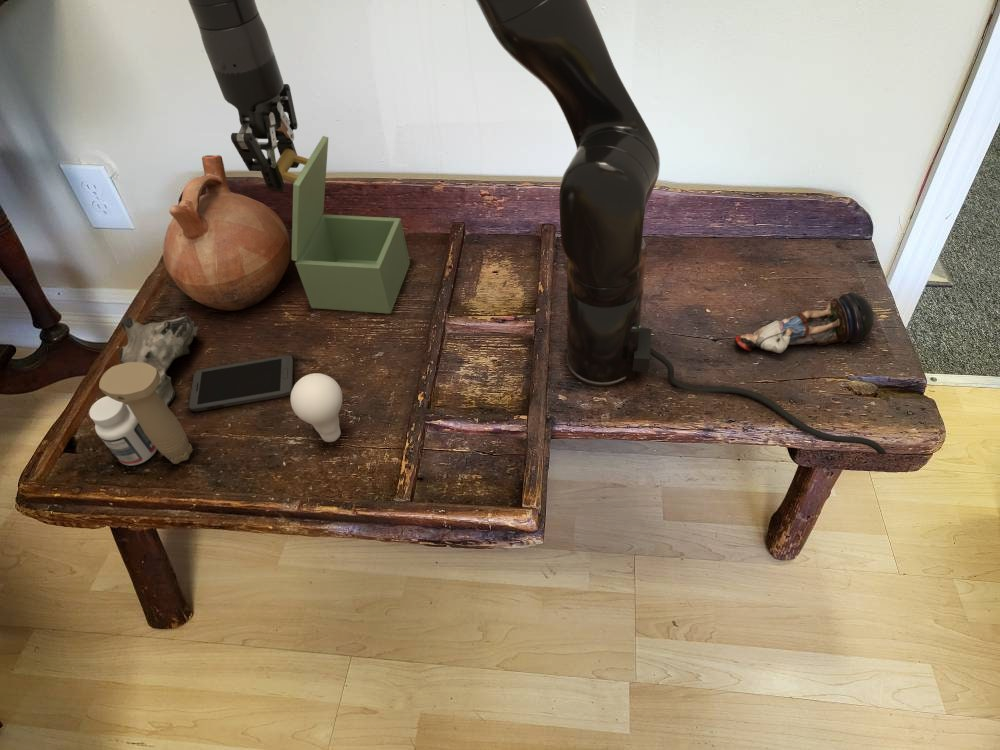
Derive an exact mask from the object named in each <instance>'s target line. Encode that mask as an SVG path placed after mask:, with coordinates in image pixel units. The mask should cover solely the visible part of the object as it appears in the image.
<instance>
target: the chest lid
mask: <svg viewBox="0 0 1000 750" xmlns="http://www.w3.org/2000/svg"><path fill="white" fill-rule="evenodd" d="M328 149H329V136H325V135H323V136H322V137H321V138H320V139H319V142H318V143H317V145H316V146H315V148H314V149H313V151H312V153H311V154H310V156H309V157H308V158H307V157H304V156H300V155H298V154H297V155H296V153H297V152H296V153H295V152H294V151H293V150H291V149H285V150H284V152H283V153H282V155H281V156H280V155H279V158H278V159H277V160H276V165H278V168H279V171H280V174H281V176H282V179H283V180H287V181H291V182H293V185H292V186H293V187H292V224H291V225H292V227H291V261H294V262H296V261H297V260H298V258H299V256H300V255H301V253H302V251H303V249H304V247H305V245H306V244H307V242H308V240H309V238H310V236H311V234H312V233H313V231H314V229H315V227H316V225H317V223H318V222H319V220H320V218H321V216H322V214H323V215H324V210H325V209H324V208H325V195H326V192H325V191H326V181H327V179H326V178H327V166H328V164H327V163H328V151H329V150H328ZM293 162H297V163H300V164H299V165H303V168H302V169H301V170H300V173H299V174H295V173H292V172H289V170H290V169H291V168H290V167H291V165H292V164H293Z"/></svg>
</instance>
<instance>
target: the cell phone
mask: <svg viewBox="0 0 1000 750" xmlns="http://www.w3.org/2000/svg"><path fill="white" fill-rule="evenodd" d="M293 387H294V357H293V356H292V355H291V354H284V355H277V356H272V357H271V356H270V357H265V358H260V359H252V360H247V361H242V362H241V361H240V362H235V363H230V364H223V365H218V366H212V367H206V368H201V369H200V368H199V369H197V370H196V371H195V372H194V373H193V377H192V382H191V389H190V396H189V402H188V407H189V410H190V411H191V412H196V413H197V412H203V411H208V410H214V409H221V408H225V407H232V406H237V405H243V404H249V403H255V402H261V401H267V400H273V399H278V398H285V397H288V396H289V397H290V396H291V392H292V389H293Z"/></svg>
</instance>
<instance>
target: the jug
mask: <svg viewBox="0 0 1000 750" xmlns="http://www.w3.org/2000/svg"><path fill="white" fill-rule="evenodd" d="M201 161H202V169H203V173H204V175H202V176H197V177H194V178H192V179H190V180H189V181H188V182H187V183H186V185H185V186H184V189H183V191H182V194H181V200H180V202H179V203H178V204H175V205H172V206H170V208H169V210H168V213H169V214H170V215H171V216H172V219H171V220H170V222H169V224H168V226H167V229H166V232H165V236H164V238H163V239H164V241H163V250H162V256H163V264H164V266H165V269H166V270H167V273H168V274H169V276H170V277H171V279H172V280H173V282H174V284H176V287H178V288H179V289H180V290H181V291H182V292H183V293H184V294H185V295H186V296H188V297H190V298H191V299H193V300H194V301H195V302H197V303H199V304H201V305H203V306H206V307H208V308H212V309H216V310H220V311H225V312H227V311H228V312H229V311H230V312H231V311H233V312H234V311H239V310H244V309H248V308H250V307H253V306H254V305H256V304H257V305H258V304H259V303H261V302H262V301H264V300H265V299H266V298H268V297H269V296H270V295H271V294H272V293H273V292H274V291H275V290H276V288H277V287H278V285H279V284H280V282H281V280H282V278H283V276H284V275H285V273H286V271H287V269H288V266H289V265H290V264H289V263H290V261H291V241H290V236H289V232H288V229H287V227H286V225H285V223H284V222H283V219H282V218H281V217H280V216H279V215H278V214H277V213H276V212H275V211H274V210H273V209H271V208H270V207H269V206H268V205H266V204H264V202H263V203H262V202H261V201H259V200H256V199H253V198H251V197H248V196H246V195H243V194H241V193H235V192H232V191H231V190H230V188H229V185H228V179H227V175H226V171H225V170H226V169H225V164H224V161H223V156H221V155H220V154H217V155H214V154H213V155H203V156H202V157H201ZM204 187H205V188H206V190H205V194H202V191H203V189H204Z"/></svg>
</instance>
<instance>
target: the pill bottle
mask: <svg viewBox="0 0 1000 750" xmlns="http://www.w3.org/2000/svg"><path fill="white" fill-rule="evenodd" d="M88 415H89V417H90V419H91V420H92V422H93V423H94V424H95V425H94V430H95V433H96V434H97V436H98V437H99V439H101V441H102V442H103V443H104V444H105V445H106V447H107V448H108V449H109V451H110V452H111V453H112V454H113V455H114V457H115V458H116V459H117V460H118V462H120V463H121V464H123V465H124V466H130V467H131V466H132V467H133V466H137V465H140V464H143V463H145V462H147V461H149V459H151V458H152V457H153V456H154V455H155V454H156V452H157V451H158V449H157V448H156V447H155V446H154V445H153V444H152V442H151V441H150V440H149V438H148V437H147V436H146V434H145V433H144V431H143V429H142V428H141V426H140V424H139V422H138V421H137V419H136V417H135V416H134V414H133V413H132V411H131V409H130V408H129V406H128V404H127V403H122V402H119V401H116V400H114V399H112V398H110V397H108V396H107V395H105V396H103V397H101V398H99V399H98V400H96V401H95V402H94V403H93V404H92V405H91V406H90V409H89V412H88Z"/></svg>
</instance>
